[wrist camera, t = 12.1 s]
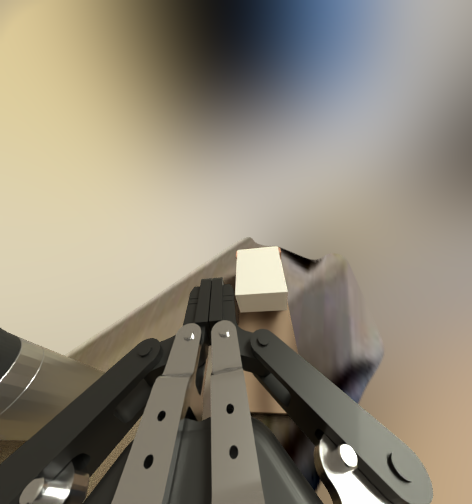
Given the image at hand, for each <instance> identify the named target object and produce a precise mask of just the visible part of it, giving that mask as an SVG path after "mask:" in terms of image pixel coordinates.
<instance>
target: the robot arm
mask: <svg viewBox="0 0 472 504" xmlns="http://www.w3.org/2000/svg"><path fill="white" fill-rule="evenodd" d="M210 345H212V373H211V417H209V418H207V419H205V420H203V421H202V415H203V392H204V385H205V378H206V371H207V363H208V346H210ZM243 370H244V371H247V372H251V373H252V374H253V375H254V376H255V378H256V379H257V380H258V381H259V382H260V383H261V384H262V386H263V387H264V388H265V389H266V390H267V391H268V392H269V394H270V395H271V396H272V397H273V398H274V399H275V401H276V402H277V403H278V404H279V405H280V406H281V407H282V409H283V410H284V411H285V412H286V413H287V414H288V415H289V417H290V418H291V419H292V420H293V421H294V422H295V423H296V425H297V426H298V427H299V428H300V429H301V430H302V431H303V433H304V434H305V435H306V436H307V437H308V438H309V439H310V441H311V442H312V443H313V444H314V445H315V446H316V447H315V450H314V462H315V467H316V470H317V473H318V475H319V477H320V479H321V481H322V482H323V484H324V485H325V487H326V489H327V490H328V492H329V494H330V496H331V499H332V501H333V504H430V503H431V501H432V498H433V488H432V484H431V481H430V478H429V475H428V473H427V471H426V469H425V467H424V466H423V464H422V463H421V461H420V460H419V458H418V457H417V456H416V455H415V453H414V452H413V451H412V450H411V449H410V448H409V447H408V446H407V445H406V444H405V443H403V442H402V441H401V440H400V439H399V438H397V437H396V436H395V435H394V434H393V433H391V432H390V431H389V430H388V429H387V428H385V427H384V426H383V425H382V424H381V423H380V422H378V421H377V420H376V419H375V418H373V417H372V416H371V415H370V414H369V413H368V412H366V411H365V410H364V409H363V408H362V407H361V406H359V405H358V404H357V403H356V402H355V401H353V400H352V399H351V398H350V397H349V396H347V395H346V394H345V393H344V392H343V391H341V390H340V389H339V388H338V387H337V386H335V385H334V384H333V383H332V382H331V381H329V380H328V379H327V378H326V377H325V376H324V375H322V374H321V373H320V372H319V371H318V370H316V369H315V368H314V367H313V366H312V365H310V364H309V363H308V362H307V361H306V360H304V359H303V358H302V357H301V356H300V355H298V354H297V353H296V352H295V351H294V350H293V349H291V348H290V347H289V346H288V345H287V344H285V343H284V342H283V341H282V340H281V339H279V338H278V337H277V336H276V335H275V334H273V333H272V332H271V331H269V330H267V329H258V330H256V331H255V332H254V333H253V332H249V331H245V330H243V329H241V328H240V327H239V326H238V325H237V323H236V316H235V303H234V290H233V288H232V286H231V285H230V284H224V285H223V277H221V278H209V279H202V280H201V285H200V287H194V288H193V290H192V291H191V292H190V297H189V301H188V306H187V310H186V315H185V319H184V323H183V326H182V327H181V328H180V329H179V330H178V332H177V334H176V335H175V336H173V337H171V338H169V339H166V340H164V341H161V342H159V341H158V340H157V339H154V338H150V339H146V340H144V341H142V342H140V343H139V344H138V345H137V346H136V347H135V348H133V349H132V350H131V351H130V352H129V353H128V354H126V355H125V356H124V357H123V358H122V359H121V360H120V361H118V362H117V363H116V364H115V365H114V366H113V367H112V368H110V369H109V370H108V371H107V372H106V373H105V372H102V371H100V370H97V369H95V368H93V367H90V366H88V365H86V364H83V363H81V362H78V361H76V360H73V359H71V358H69V357H66V356H64V355H61V354H59V353H56V352H54V351H51V350H49V349H47V348H44V347H42V346H39V345H36V344H34V343H32V342H29V341H27V340H24V339H22V338H19V337H17V336H15V335H12V334H10V333H7V332H6V331H4V330H2V329H1V328H0V440H18V441H26V442H25V443H24V444H23V445H22V446H21V447H20V448H18V449H17V450H16V451H15V452H14V453H13V454H11V455H10V456H9V457H8V458H7V459H6V460H5V461H3V462H2V463H1V464H0V504H323V503H322V501H321V500H320V498H319V497H318V496H317V494H316V493H315V491H314V490H313V489H312V487H311V486H310V484H309V483H308V482H307V480H306V479H305V477H304V476H303V475H302V473H301V472H300V470H299V469H298V468H297V466H296V465H295V463H294V462H293V461H292V459H291V458H290V456H289V455H288V454H287V452H286V451H285V449H284V448H283V447H282V445H281V444H280V442H279V441H278V440H277V438H276V437H275V435H274V434H273V433H272V432H271V430H270V429H269V428H268V427H267V426H266V425H265V424H263V423H262V422H261V421H259V420H258V419H256V418H254V417H252V416H251V415H250V409H249V403H248V396H247V390H246V384H245V377H244V372H243ZM142 415H143V416H142ZM141 416H142V419H141V422H140V425H139V427H138V430H137V433H136V436H135V439H134V440H133V441H132V442H131V443H130V444H129V445H128V446H127V447H126V448H125V450H124V451H123V452H122V453H121V455H120V456H119V457H118V458H117V460H116V461H115V462H114V464H113V465H112V466H111V468H110V469H109V470H108V471H107V473H106V474H105V475H104V477H103V478H102V479H101V481H100V482H99V483H98V484H97V486H96V487H95V488H94V490H93V491H92V492H91V494H90V495H89V496H88V497H87V499H86V500H85V498H86V495H87V489H88V485H89V478H90V477H91V475H92V474H93V473H94V472H95V471H96V469H97V468H98V467H99V466H100V465H101V464H102V462H103V461H104V460H105V459H106V458H107V456H108V455H109V454H110V453H111V452H112V450H113V449H114V448H115V447H116V446H117V444H118V443H119V442H120V441H121V440H122V439H123V437H124V436H125V435H126V434H127V433H128V431H129V430H130V429H131V428H132V427H133V425H134V424H135V423H136V422H137V421H138V420H139V418H140V417H141ZM84 500H85V501H84ZM83 502H84V503H83Z"/></svg>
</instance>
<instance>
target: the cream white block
mask: <svg viewBox="0 0 472 504" xmlns="http://www.w3.org/2000/svg"><path fill="white" fill-rule="evenodd" d="M287 294H288V291H287V287H286V282H285V278H284V273H283V268H282V264H281V259H280V255H279V250H278V246H274V247H265V248H255V249H245V250H238V251H237V269H236V287H235V296H236V300H237V303H238V306H239V310H240V312H259V311H279V310H287Z"/></svg>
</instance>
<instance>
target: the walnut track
mask: <svg viewBox="0 0 472 504" xmlns="http://www.w3.org/2000/svg"><path fill="white" fill-rule="evenodd" d="M278 250H279V255H280V259H281V250H280V247H279V248H278ZM236 260H237V252H236ZM238 326H239V327H240V328H241V329H243V330H245V331H249V332H253V333H254V332H255V331H256V330H258V329H267V330H269V331H271V332H272V333H273V334H275V335H276V336H277V337H278V338H279V339H281V340H282V341H283V342H284V343H285V344H287V345H288V346H289V347H290V348H291V349H293V350H294V351H295V352H296V353H297V354H298V351H297V346H296V341H295V336H294V332H293V327H292V322H291V317H290V312H289V307H288V303H287V310H279V311H259V312H240V310H239V324H238ZM243 372H244V377H245V384H246V390H247V396H248V403H249V409H250V413H266V414H287V413H286V412H285V411H284V410H283V409H282V407H281V406H280V405H279V404H278V403H277V402H276V401H275V399H274V398H273V397H272V396H271V395H270V394H269V392H268V391H267V390H266V389H265V388H264V387H263V386H262V384H261V383H260V382H259V381H258V380H257V379H256V378H255V376H254V375H253V374H252V373H251V372H247V371H244V370H243Z"/></svg>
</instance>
